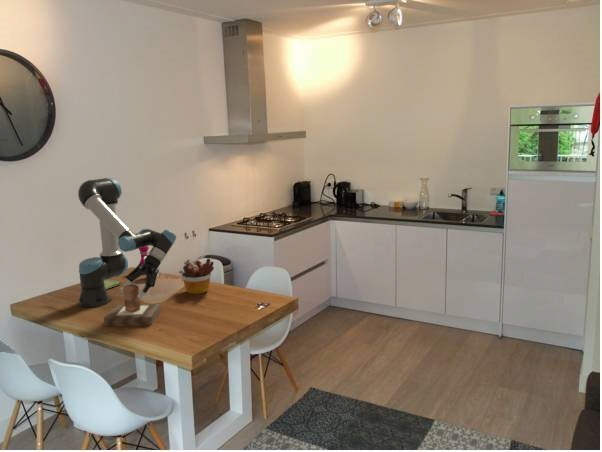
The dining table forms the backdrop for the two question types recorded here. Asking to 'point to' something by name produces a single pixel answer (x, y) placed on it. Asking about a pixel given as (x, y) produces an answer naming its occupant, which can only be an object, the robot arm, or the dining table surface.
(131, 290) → the cherry block
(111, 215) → the robot arm
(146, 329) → the dining table surface
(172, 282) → the dining table surface
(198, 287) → the bucket of meat
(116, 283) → the washcloth
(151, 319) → the tray
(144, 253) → the pepper mill
